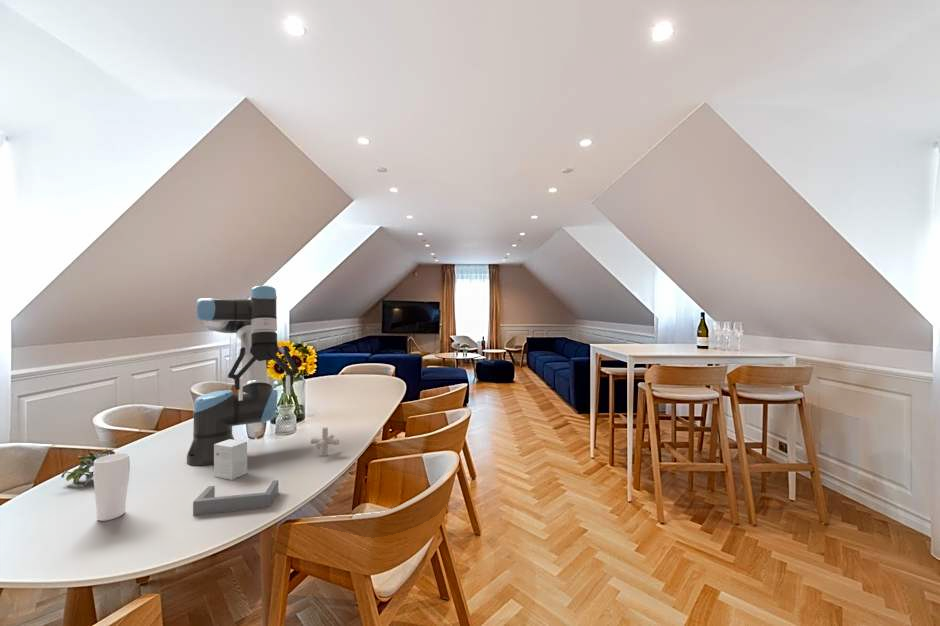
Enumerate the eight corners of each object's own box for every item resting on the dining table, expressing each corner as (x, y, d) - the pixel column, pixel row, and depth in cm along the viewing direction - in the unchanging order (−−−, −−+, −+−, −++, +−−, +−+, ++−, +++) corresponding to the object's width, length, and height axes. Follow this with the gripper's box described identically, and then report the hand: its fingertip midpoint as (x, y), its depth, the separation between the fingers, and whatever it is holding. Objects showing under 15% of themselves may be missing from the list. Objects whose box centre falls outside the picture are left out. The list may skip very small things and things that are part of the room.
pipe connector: (343, 450, 144) (343, 424, 144) (331, 460, 134) (331, 432, 134) (318, 449, 145) (318, 423, 145) (304, 459, 135) (305, 431, 135)
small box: (247, 473, 123) (248, 441, 123) (231, 480, 117) (232, 446, 117) (229, 470, 125) (229, 438, 125) (213, 476, 120) (213, 443, 120)
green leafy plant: (107, 493, 120) (136, 459, 123) (79, 503, 109) (112, 465, 113) (76, 473, 119) (106, 440, 123) (45, 482, 109) (79, 445, 112)
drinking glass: (86, 526, 92) (87, 464, 92) (100, 512, 98) (101, 454, 98) (122, 520, 94) (123, 460, 94) (133, 507, 101) (134, 451, 101)
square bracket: (193, 515, 97) (193, 501, 97) (208, 498, 106) (208, 486, 106) (269, 507, 101) (269, 494, 101) (278, 492, 110) (278, 480, 110)
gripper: (220, 331, 114) (219, 402, 110) (307, 330, 129) (309, 393, 125) (218, 334, 119) (217, 403, 116) (301, 333, 135) (303, 393, 131)
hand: (265, 398), depth 120 cm, fingers open, 13 cm apart
